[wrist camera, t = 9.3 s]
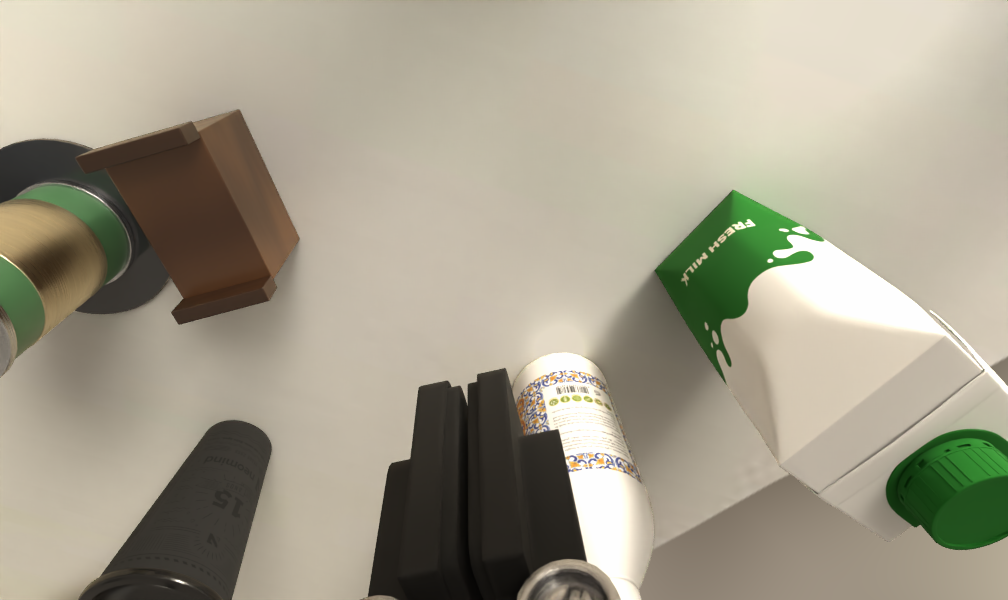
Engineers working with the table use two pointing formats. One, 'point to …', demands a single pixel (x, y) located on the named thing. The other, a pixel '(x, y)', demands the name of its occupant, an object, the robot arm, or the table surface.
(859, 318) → the milk carton
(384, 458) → the table surface
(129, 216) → the coaster
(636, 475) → the bath foam
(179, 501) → the drinking cup
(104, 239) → the can
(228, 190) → the rest
